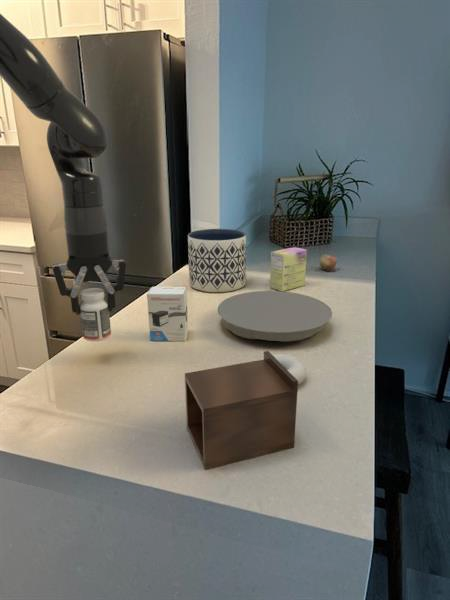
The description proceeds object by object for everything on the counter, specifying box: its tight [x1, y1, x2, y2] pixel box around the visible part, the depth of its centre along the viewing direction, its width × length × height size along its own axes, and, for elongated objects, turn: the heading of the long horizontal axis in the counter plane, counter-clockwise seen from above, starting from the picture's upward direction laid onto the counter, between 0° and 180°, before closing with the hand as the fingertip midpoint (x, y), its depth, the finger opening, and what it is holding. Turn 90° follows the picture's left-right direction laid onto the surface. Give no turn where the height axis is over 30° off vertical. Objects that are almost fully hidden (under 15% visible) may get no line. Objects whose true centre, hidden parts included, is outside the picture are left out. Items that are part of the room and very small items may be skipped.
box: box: [269, 246, 308, 292], centre depth 135 cm, size 10×6×12 cm, turn 128°
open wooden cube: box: [184, 350, 299, 470], centre depth 65 cm, size 14×10×11 cm
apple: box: [318, 253, 338, 272], centre depth 153 cm, size 6×8×6 cm
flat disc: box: [217, 290, 333, 342], centre depth 107 cm, size 28×28×4 cm
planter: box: [187, 228, 247, 294], centre depth 137 cm, size 18×18×16 cm
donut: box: [258, 353, 307, 385], centre depth 83 cm, size 10×4×10 cm
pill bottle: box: [79, 287, 112, 343], centre depth 88 cm, size 6×6×10 cm
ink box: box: [146, 286, 189, 342], centre depth 100 cm, size 8×5×12 cm, turn 88°
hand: (94, 311), depth 88 cm, fingers closed on pill bottle, 5 cm apart
